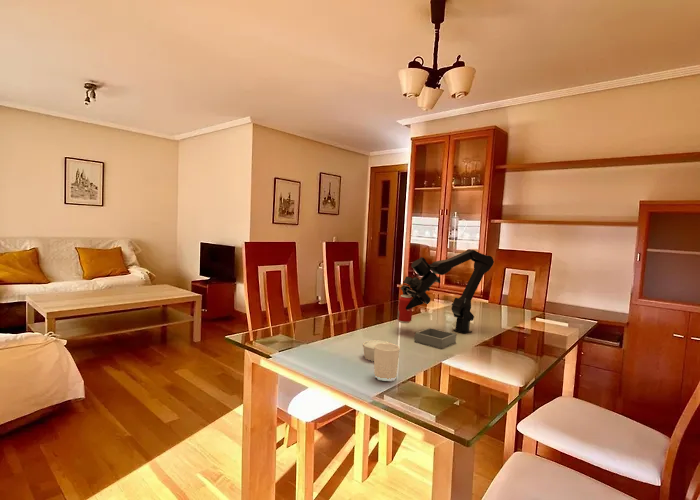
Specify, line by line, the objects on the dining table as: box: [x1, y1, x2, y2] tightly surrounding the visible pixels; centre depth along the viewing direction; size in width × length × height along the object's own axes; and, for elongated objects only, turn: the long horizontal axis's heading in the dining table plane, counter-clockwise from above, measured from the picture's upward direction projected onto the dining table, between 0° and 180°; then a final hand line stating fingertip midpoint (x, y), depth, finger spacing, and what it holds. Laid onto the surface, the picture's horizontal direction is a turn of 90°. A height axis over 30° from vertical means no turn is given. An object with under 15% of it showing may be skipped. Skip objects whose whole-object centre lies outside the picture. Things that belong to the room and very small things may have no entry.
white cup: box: [373, 342, 401, 379], centre depth 117 cm, size 8×8×10 cm
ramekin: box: [362, 339, 393, 362], centre depth 136 cm, size 11×11×5 cm
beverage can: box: [396, 294, 413, 324], centre depth 169 cm, size 6×6×12 cm
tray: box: [414, 327, 457, 350], centre depth 159 cm, size 13×13×4 cm
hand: (402, 307), depth 169 cm, fingers closed on beverage can, 6 cm apart
